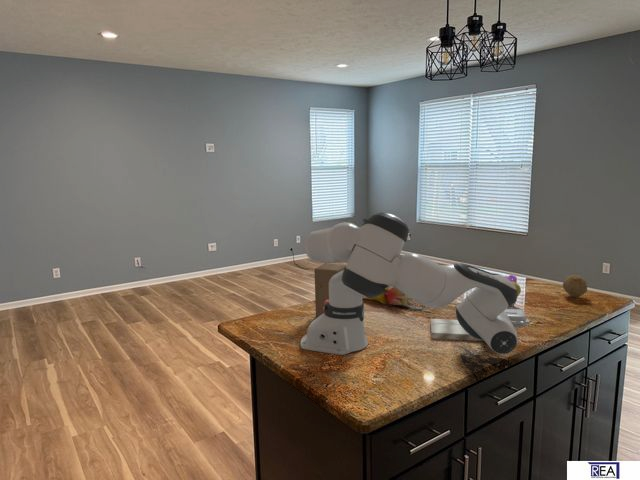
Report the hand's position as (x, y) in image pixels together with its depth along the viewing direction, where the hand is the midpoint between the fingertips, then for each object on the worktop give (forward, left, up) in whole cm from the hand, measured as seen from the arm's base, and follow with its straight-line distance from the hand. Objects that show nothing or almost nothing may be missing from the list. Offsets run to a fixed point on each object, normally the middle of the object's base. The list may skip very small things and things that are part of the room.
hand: (488, 308), depth 150 cm
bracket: (+15, +64, -11) cm, 67 cm away
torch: (-36, +35, -11) cm, 51 cm away
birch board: (-6, +4, -10) cm, 13 cm away
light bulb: (+15, +37, -11) cm, 41 cm away
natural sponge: (+43, +52, -11) cm, 68 cm away
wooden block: (-56, +15, -11) cm, 59 cm away
